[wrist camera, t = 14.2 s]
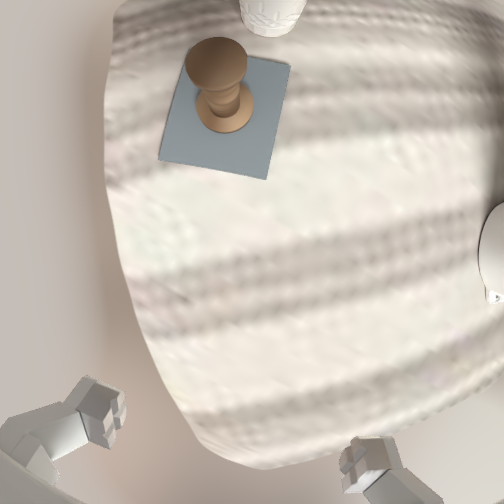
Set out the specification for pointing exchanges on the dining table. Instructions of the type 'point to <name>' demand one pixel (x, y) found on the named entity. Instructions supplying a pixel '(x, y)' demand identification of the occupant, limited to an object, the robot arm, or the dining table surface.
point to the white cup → (271, 16)
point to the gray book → (231, 144)
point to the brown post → (220, 84)
